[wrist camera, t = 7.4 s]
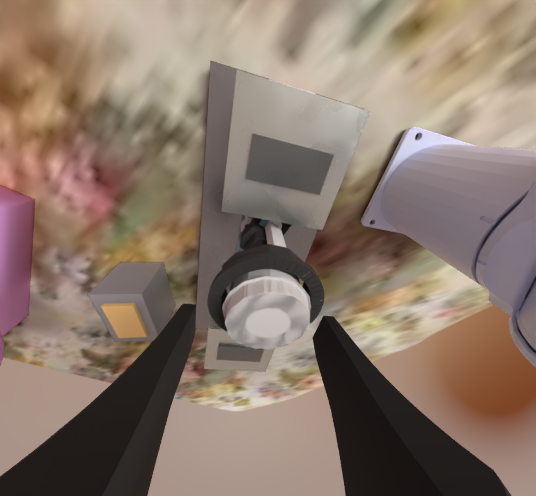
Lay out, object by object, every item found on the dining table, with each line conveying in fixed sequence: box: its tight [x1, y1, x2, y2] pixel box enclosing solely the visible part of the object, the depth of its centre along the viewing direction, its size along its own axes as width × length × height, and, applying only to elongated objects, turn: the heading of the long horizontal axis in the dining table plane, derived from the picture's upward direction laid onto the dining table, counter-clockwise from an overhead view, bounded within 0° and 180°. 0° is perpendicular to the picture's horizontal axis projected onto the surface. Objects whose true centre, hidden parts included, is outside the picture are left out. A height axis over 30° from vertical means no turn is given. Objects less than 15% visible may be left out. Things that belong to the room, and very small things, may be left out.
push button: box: [207, 216, 324, 349], centre depth 13 cm, size 7×5×10 cm
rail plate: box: [195, 61, 370, 372], centre depth 16 cm, size 10×24×6 cm, turn 167°
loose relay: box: [88, 262, 175, 342], centre depth 18 cm, size 4×6×5 cm, turn 177°
